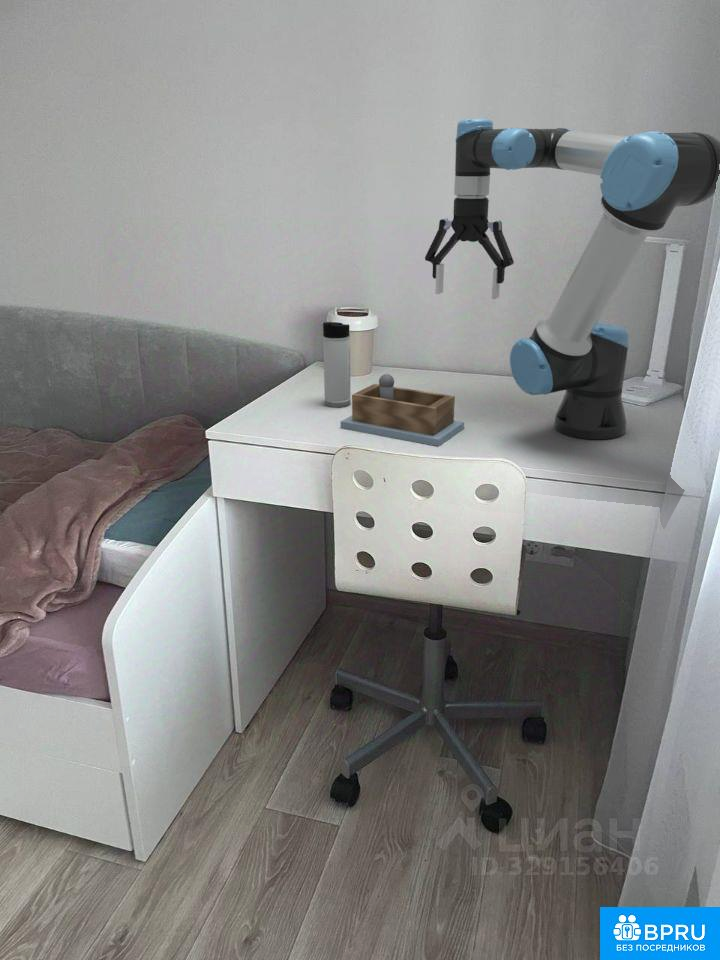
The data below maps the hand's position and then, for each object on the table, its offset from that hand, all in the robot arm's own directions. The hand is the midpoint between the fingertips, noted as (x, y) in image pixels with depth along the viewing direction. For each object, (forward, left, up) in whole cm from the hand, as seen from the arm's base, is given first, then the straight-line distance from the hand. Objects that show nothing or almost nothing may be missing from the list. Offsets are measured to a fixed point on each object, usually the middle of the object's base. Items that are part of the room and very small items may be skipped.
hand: (466, 295), depth 181 cm
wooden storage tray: (+4, +22, -24) cm, 33 cm away
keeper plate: (+5, +22, -26) cm, 34 cm away
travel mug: (+27, +14, -26) cm, 40 cm away
